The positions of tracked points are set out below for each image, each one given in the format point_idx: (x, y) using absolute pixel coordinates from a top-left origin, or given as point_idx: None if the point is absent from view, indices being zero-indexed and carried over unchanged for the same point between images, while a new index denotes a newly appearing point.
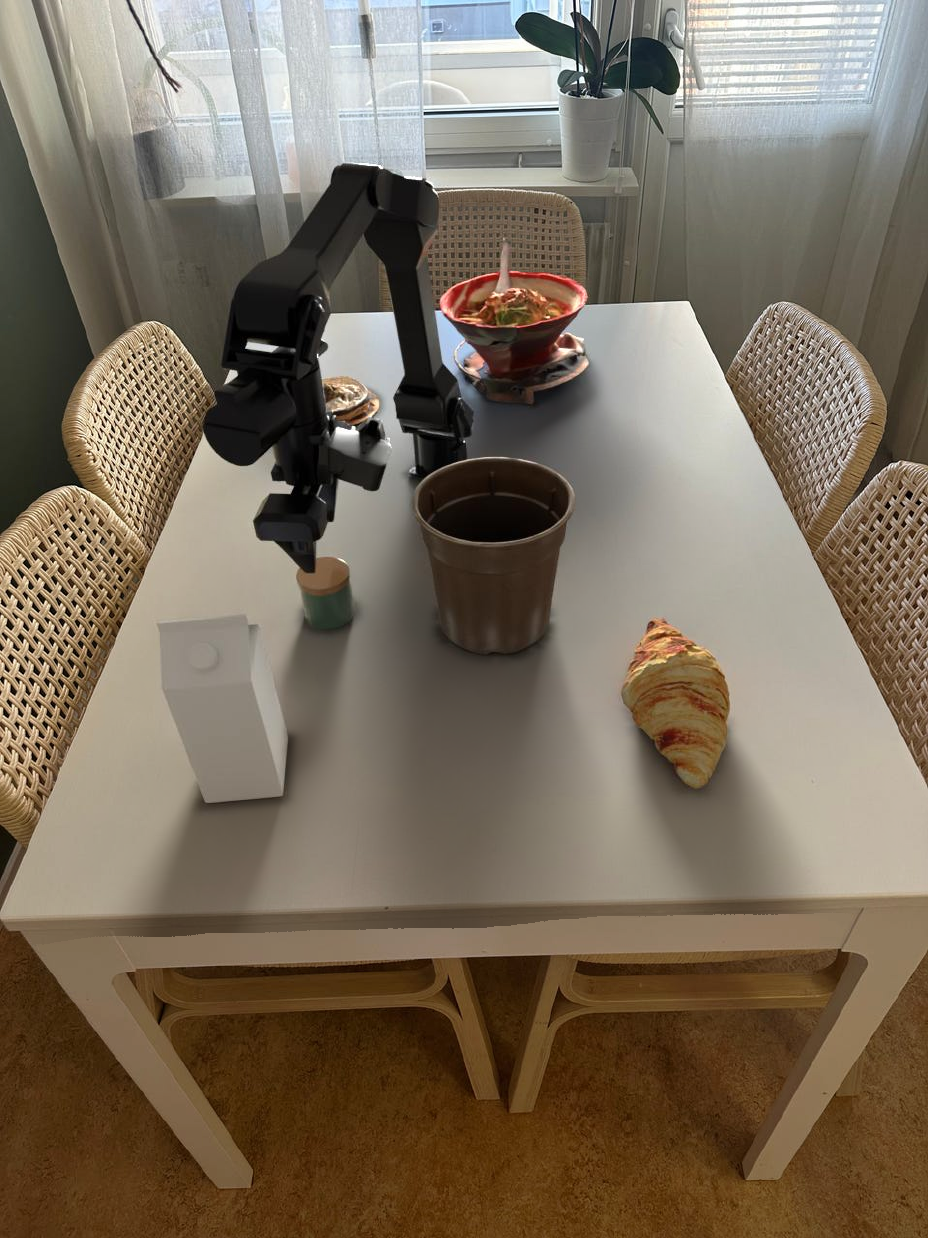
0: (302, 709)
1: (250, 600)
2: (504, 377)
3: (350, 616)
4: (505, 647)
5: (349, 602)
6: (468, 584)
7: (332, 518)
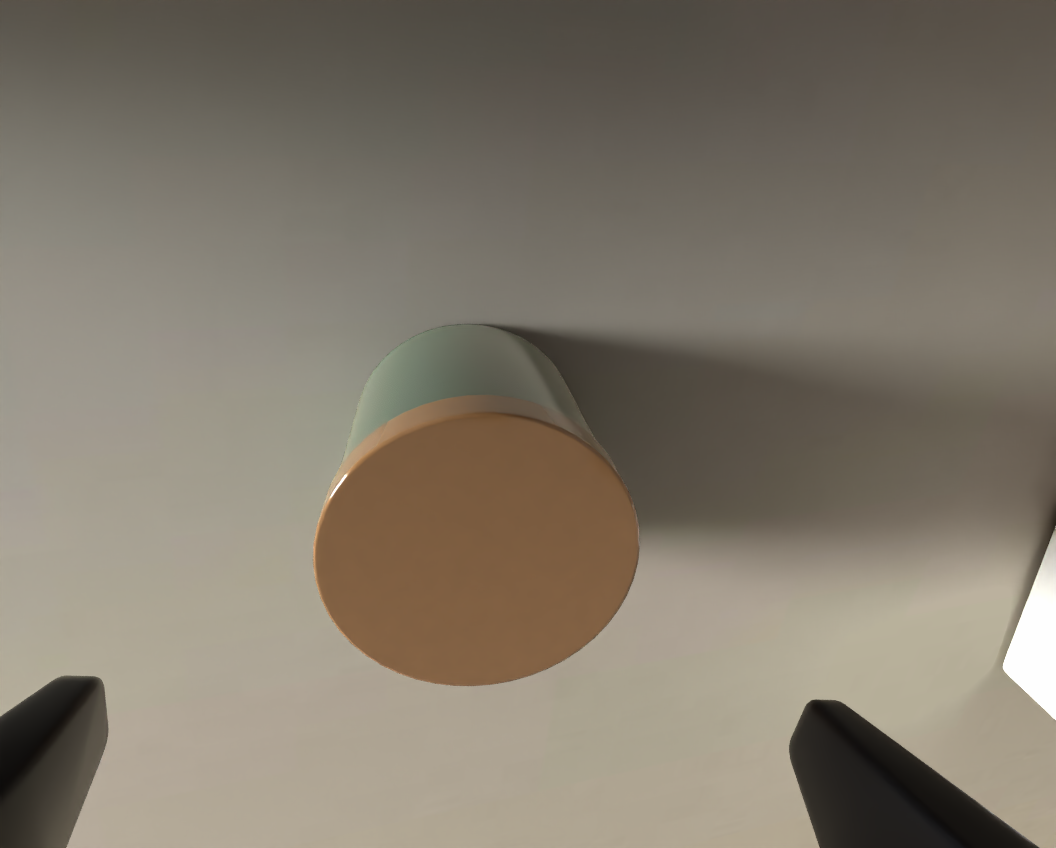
0: (957, 470)
1: (366, 707)
2: None
3: (524, 343)
4: None
5: (526, 363)
6: None
7: (84, 710)
